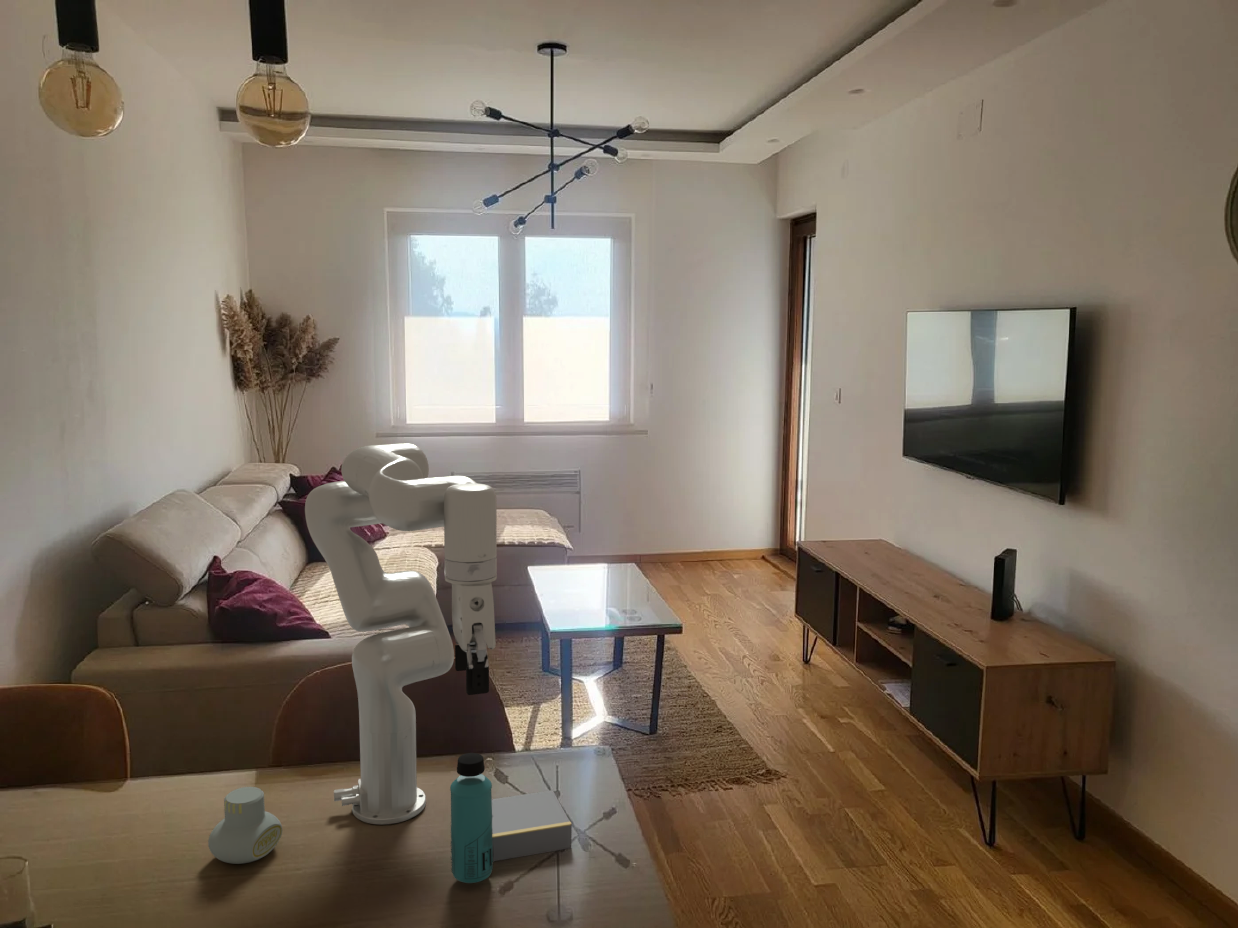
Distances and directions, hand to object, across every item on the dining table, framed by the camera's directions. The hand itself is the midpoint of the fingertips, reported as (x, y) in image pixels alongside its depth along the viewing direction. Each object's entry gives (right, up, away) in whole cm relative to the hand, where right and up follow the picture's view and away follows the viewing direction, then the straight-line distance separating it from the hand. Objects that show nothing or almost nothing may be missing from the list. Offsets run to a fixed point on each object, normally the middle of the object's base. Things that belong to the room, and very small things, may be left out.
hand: (471, 681), depth 136 cm
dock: (+6, -30, +17) cm, 35 cm away
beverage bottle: (-1, -32, +5) cm, 32 cm away
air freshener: (-38, -30, +11) cm, 50 cm away
